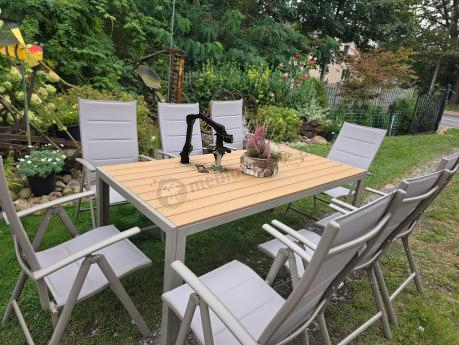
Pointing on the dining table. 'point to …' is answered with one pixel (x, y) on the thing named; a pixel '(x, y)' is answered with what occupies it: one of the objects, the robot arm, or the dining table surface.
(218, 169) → the holder
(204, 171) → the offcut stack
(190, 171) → the dining table surface
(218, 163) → the long rectangular block
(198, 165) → the frame
